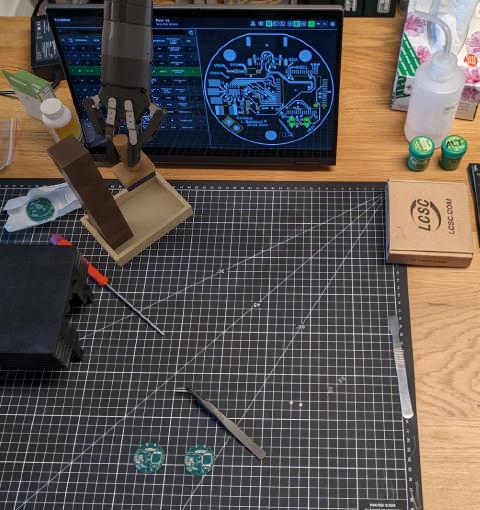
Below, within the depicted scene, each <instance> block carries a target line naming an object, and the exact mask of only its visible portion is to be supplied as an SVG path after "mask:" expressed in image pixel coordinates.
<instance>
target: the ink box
mask: <svg viewBox="0 0 480 510" xmlns="http://www.w3.org/2000/svg"><path fill="white" fill-rule="evenodd" d="M0 72H1V73H2V75H3V76H4V77H5V79H6V80H7V82H8V84H9V85H10V87H11V89H12V90H13V92H14V94H15V95H16V97H17V98H18V100H19V102H20V103H21V105H22V107H23V108H24V110H25V111H26V113H27V115H28V116H30V117H32V118H35V119H37V120H38V121H40V122H43V119H42V115H43V113H42V111H41V109H40V106H41V104H42V102H43V101H45V100H46V99H49V98H57V99H58V97H57V95H56V93H55V90H54V89H53V87H52V85H51V83H50V82H49V81H48V80H45V79H44V78H41V77H39V76H37V75H35V74H32V73H30V72H28V71H26V70H24V69H21V68H20V69H19V70H18V71H17V72H16V73H15V74H14V73H12V72H10V71H7V70H5V69H2V68H0Z"/></svg>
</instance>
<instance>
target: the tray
mask: <svg viewBox="0 0 480 510" xmlns="http://www.w3.org/2000/svg"><path fill="white" fill-rule="evenodd" d="M155 172H156V176H154V177H153V178H151V179H149V180H148V181H146V182H145V183H143V184H142V185H140V186H138V187H137V188H135V189H134V190H132V191H130V192H128V191H127V190H126V188H125V187H124V188H123V189H122V190H120V191H119V192H117V193H116V194H115V195H112V196H113V198H114V199H115V201H116V203H117V205H118V207H119V209H120V211H121V212H122V214H123V216H124V218H125V220H126V222H127V224H128V225H129V227H130V229H131V231H132V233H133V235H134V236H133V237H132V238H131V239H129V240H128V241H126V242H125V243H124V244H122V245H121V246H119V247H118V248H117V249H115V250H113V249H112V248H111V247H110V246H109V245H108V243H107V242H106V241H105V240H104V239H103V238H102V237H101V236H100V234H99V233H98V231H97V229H96V228H95V226H94V225H93V223H92V222H91V220H90V218H89V217H88V215H87V214H85V215H84V216H82V217H81V218H80V219H79V221H80V222H81V224H82V225H83V226H84V228H86V230H87V231H88V232H89V233H90V235H91V236H92V237H93V238H94V239H95V240H96V241H97V242H98V244H99V245H100V246H101V247H102V248H103V250H105V252H107V254H108V255H109V256H110V257H111V259H112V260H113V261H115V263H116V264H117V266H119V267H123V266H124V265H125V264H127V263H128V262H130V261H131V260H133V259H134V258H135V257H136V256H138V255H139V254H140V253H143V251H145V250H146V249H147V248H148V247H150V246H151V245H153V244H154V243H156V242H157V241H158V240H160V239H161V238H162V237H164V236H166V235H167V234H168V233H170V231H172V230H173V229H174V228H176V227H177V226H179V225H180V224H182V223H183V222H184V221H186V220H187V219H188V218H190V217H191V216H193V215H194V210H193V206H192V205H190V203H189V202H188V201H187V200H186V199H185V198H184V197H183V196H182V195H181V194H180V193H179V192H178V191H177V190H176V189H175V188H174V187H173V186H172V185H171V184H170V183H169V182H168V181H167V180H166V179H165V178H164V177H163V175H161V174H160V173H159V172H158V171H157V169H156V170H155Z"/></svg>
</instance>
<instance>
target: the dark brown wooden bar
mask: <svg viewBox="0 0 480 510" xmlns="http://www.w3.org/2000/svg"><path fill="white" fill-rule="evenodd" d="M45 151H46V153H47V154H48V155H49V158H50V159H51V160H52V162H53V164H54V165H55V167H56V168H57V170H58V172H59V174H60V175H61V176H62V177H63V179H64V181H65V183H66V184H67V185H68V187H69V189H70V190H71V192H72V194H73V195H74V196H75V198H76V200H77V201H78V203H79V204H80V206H81V207H82V209H83V211H84V212H85V215H88V217H89V218H90V220H91V222H92V223H93V225H94V226H95V228H96V229H97V231H98V233H99V234H100V236H101V237H102V238H103V239H104V240H105V241H106V242H107V243H108V245H109V246H110V247H111V248H112V249H113V250H115V249H117V248H118V247H119V246H121V245H122V244H124V243H125V242H126V241H128V240H129V239H131V238H132V237H133V236H134V235H133V233H132V231H131V229H130V227H129V225H128V224H127V222H126V220H125V218H124V216H123V214H122V212H121V211H120V209H119V207H118V205H117V203H116V201H115V199H114V198H113V196H114V195H113V193H112V192H111V190H110V188H109V187H108V185H107V183H106V181H105V179H104V177H103V175H102V173H101V172H100V170H99V168H98V165H97V164H96V162H95V160H94V158H93V156H92V155H91V153H90V151H89V150H88V149H87V148H86V147H85V146H84V145H83V143H82V142H81V140H80V141H79V140H78V139H77V138H76V137H75V136H74V135H73V134H70V135H69V136H67V137H65V138H64V139H62V140H61V141H59V142H57V143H56V142H55V143H54V144H53V145H51V146H50V147H48V148H46V149H45Z"/></svg>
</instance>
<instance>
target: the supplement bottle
mask: <svg viewBox="0 0 480 510" xmlns="http://www.w3.org/2000/svg"><path fill="white" fill-rule="evenodd" d="M40 109H41V111H42V113H43V115H42V119H43V121H42V122H43V124H44V125H45V127H46V129H47V130H48V132H49V133H50V136H51V137H52V139H53V140H54V142H55V144H56V143H57V142H59V141H61V140H62V139H64V138H65V137H67V136H69V135H70V134H73V135H74V136H75V137H76V138H77V139H78V140H79V141H80V142H81V140H82V138H83V133H82V130H81V128H80V126H79V124H78V123H77V121H76V119H75V117H74V115H73V113H72V112H71V110H70V108H69V107H68V106H67V105H64V104H63V103H62V101H61V100H60V98H59V99H58V97H57V98H49V99H46V100H45V101H43V102H42V104H41V106H40Z"/></svg>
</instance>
